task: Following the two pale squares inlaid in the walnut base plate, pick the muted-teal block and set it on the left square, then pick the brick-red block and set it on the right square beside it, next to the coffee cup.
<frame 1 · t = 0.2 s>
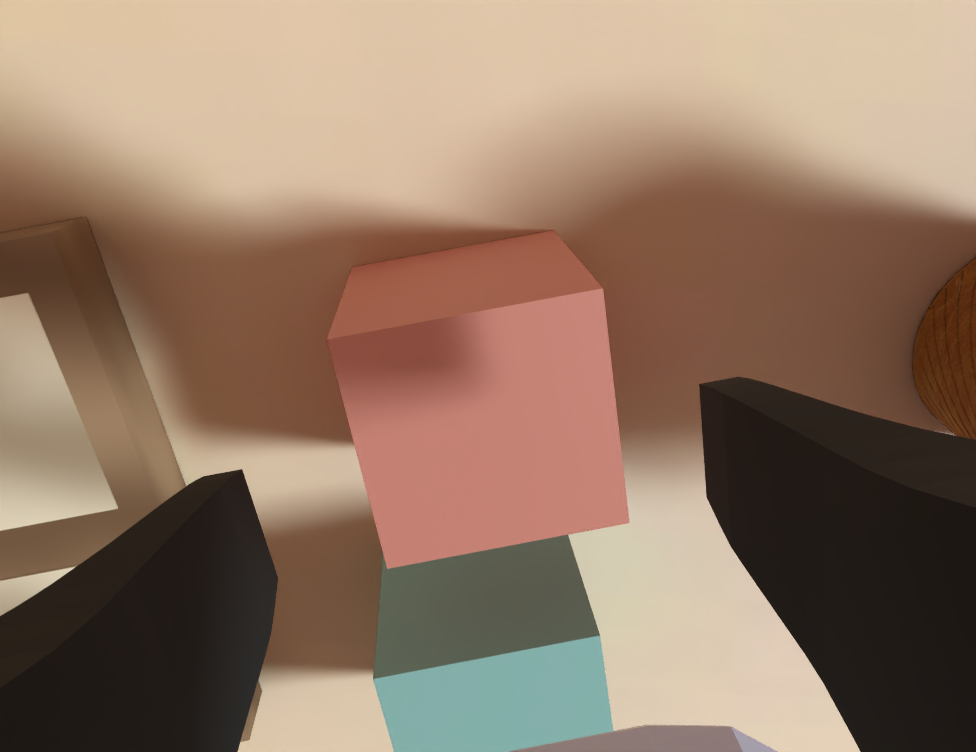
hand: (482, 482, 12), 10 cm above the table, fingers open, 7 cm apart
teal block: (485, 590, 25), on the table
walnut base plate: (51, 511, 22), on the table
brick block: (470, 342, 21), on the table
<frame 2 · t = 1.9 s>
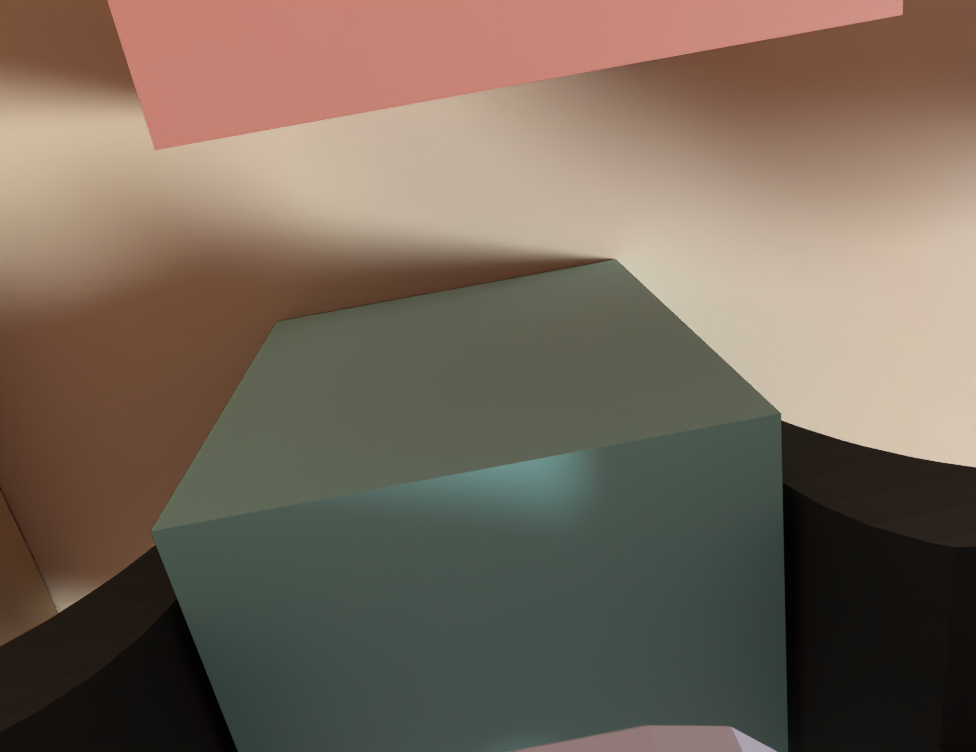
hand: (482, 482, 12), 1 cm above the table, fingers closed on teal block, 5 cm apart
teal block: (476, 441, 13), on the table, touching gripper
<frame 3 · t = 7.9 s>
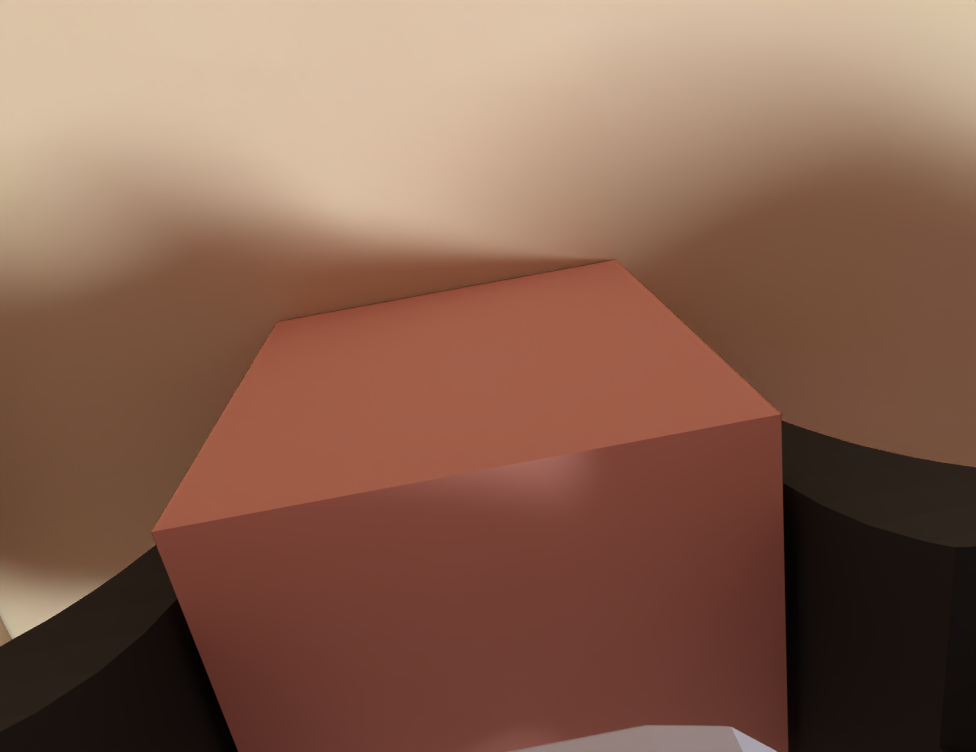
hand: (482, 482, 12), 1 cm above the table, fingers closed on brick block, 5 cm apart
brick block: (476, 442, 13), on the table, touching gripper
when the fingers open (5 cm above the table, at t = 10.9 s): brick block drops 1 cm, resting on walnut base plate.
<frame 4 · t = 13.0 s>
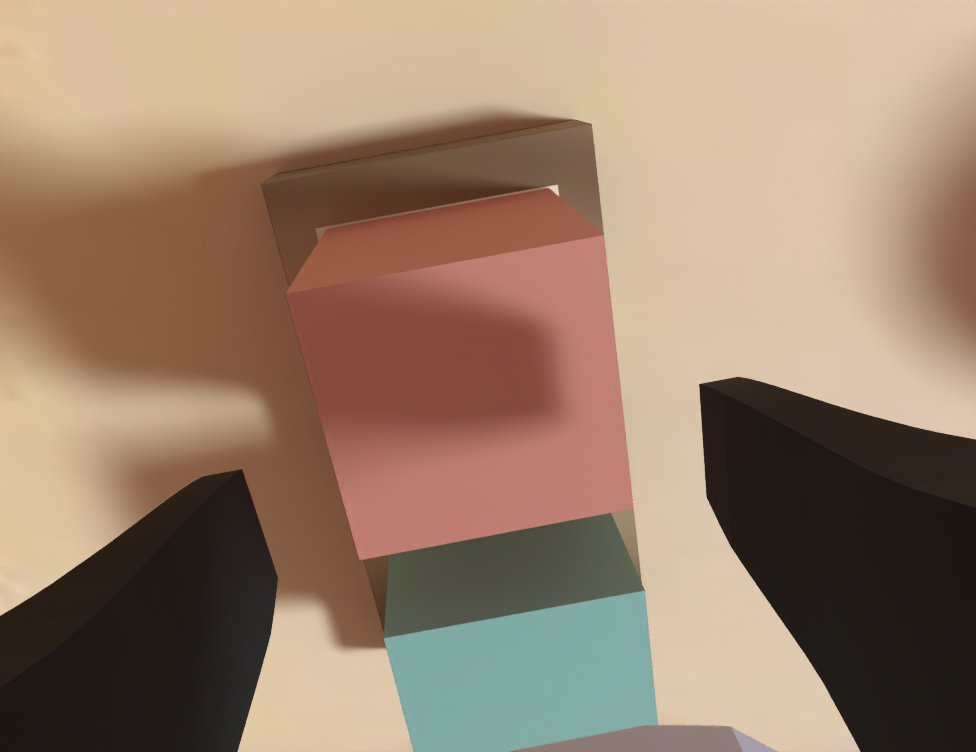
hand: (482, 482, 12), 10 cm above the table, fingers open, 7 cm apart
teal block: (504, 554, 22), point 2 cm above the table, touching walnut base plate
walnut base plate: (477, 418, 23), on the table
brick block: (458, 314, 19), point 2 cm above the table, touching walnut base plate
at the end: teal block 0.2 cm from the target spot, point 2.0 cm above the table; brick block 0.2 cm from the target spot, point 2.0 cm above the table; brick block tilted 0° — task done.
